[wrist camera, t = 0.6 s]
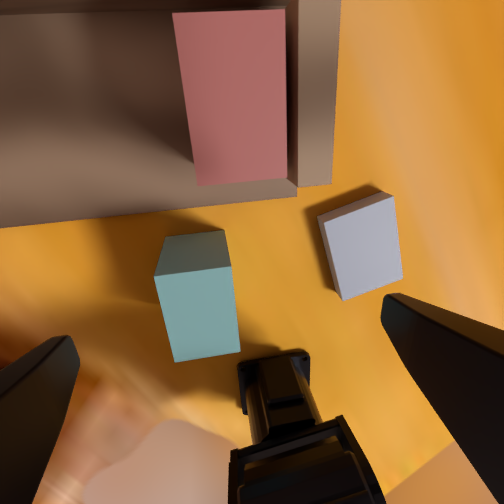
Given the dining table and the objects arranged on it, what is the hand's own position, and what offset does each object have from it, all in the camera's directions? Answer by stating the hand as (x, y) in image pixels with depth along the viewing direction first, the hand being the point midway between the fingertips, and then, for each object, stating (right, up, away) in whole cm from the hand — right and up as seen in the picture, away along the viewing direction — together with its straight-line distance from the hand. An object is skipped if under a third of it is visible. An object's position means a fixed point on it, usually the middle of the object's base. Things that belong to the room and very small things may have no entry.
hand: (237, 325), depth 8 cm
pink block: (-1, +10, +8) cm, 13 cm away
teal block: (-3, +1, +13) cm, 13 cm away
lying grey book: (+8, +3, +14) cm, 17 cm away
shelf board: (-9, +10, +8) cm, 15 cm away
